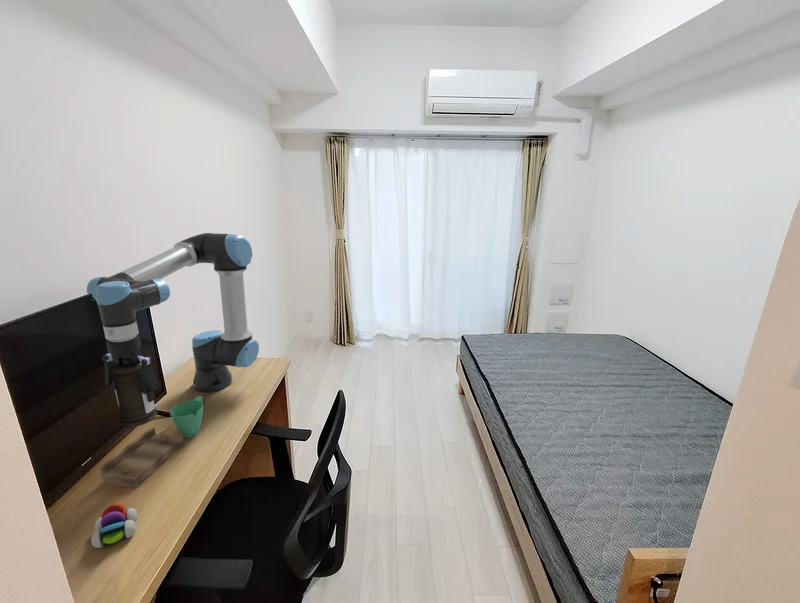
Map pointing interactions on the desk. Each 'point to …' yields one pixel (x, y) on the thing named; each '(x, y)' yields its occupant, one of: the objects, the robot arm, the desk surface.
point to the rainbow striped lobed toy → (114, 525)
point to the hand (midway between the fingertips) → (137, 408)
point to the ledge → (140, 459)
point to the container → (130, 396)
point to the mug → (188, 416)
